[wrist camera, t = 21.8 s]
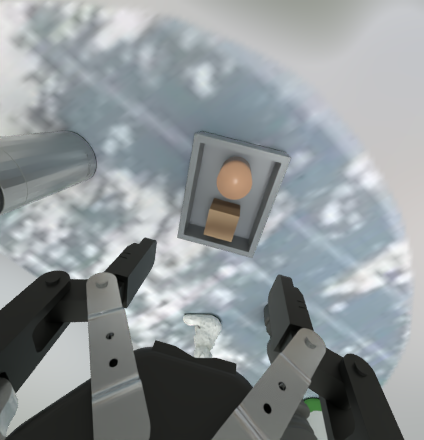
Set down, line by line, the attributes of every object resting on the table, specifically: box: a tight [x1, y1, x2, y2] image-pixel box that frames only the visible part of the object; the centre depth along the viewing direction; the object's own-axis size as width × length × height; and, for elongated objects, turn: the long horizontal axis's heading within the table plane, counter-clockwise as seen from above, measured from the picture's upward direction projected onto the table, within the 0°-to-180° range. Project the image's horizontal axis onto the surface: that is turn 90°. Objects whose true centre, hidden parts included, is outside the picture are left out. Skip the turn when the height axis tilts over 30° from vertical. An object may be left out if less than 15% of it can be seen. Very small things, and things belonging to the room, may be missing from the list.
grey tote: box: [177, 131, 291, 258], centre depth 37 cm, size 14×18×5 cm
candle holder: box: [264, 305, 318, 440], centre depth 39 cm, size 6×6×25 cm
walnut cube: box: [204, 198, 240, 242], centre depth 38 cm, size 5×5×5 cm
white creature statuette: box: [183, 314, 222, 358], centre depth 50 cm, size 10×9×12 cm
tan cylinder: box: [217, 156, 252, 200], centre depth 33 cm, size 5×5×7 cm
